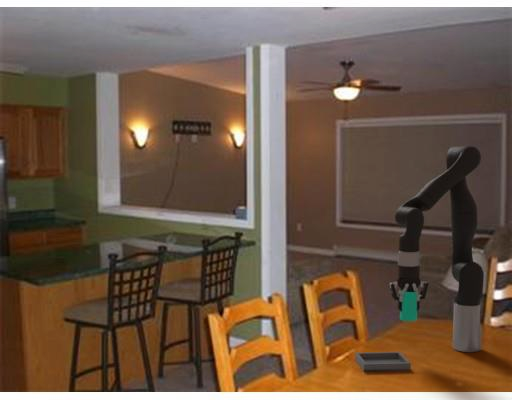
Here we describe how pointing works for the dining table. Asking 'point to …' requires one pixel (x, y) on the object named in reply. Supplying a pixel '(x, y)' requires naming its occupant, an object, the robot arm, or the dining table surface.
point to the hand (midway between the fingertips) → (408, 310)
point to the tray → (382, 361)
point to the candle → (409, 306)
